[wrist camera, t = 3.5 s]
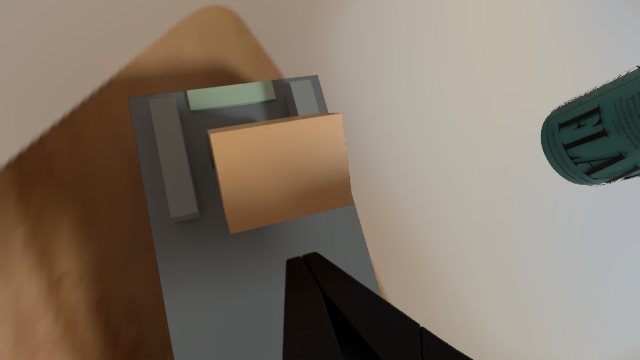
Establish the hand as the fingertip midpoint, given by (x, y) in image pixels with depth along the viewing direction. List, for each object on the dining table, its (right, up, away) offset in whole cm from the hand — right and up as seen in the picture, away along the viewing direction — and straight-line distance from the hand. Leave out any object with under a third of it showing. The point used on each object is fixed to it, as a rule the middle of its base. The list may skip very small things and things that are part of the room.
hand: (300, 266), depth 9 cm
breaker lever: (-3, +4, +6) cm, 8 cm away
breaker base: (-3, -2, +11) cm, 12 cm away
